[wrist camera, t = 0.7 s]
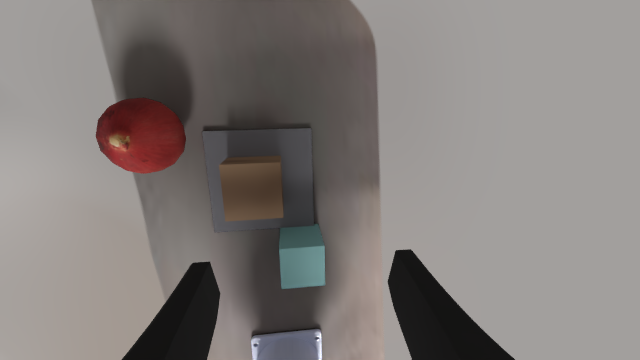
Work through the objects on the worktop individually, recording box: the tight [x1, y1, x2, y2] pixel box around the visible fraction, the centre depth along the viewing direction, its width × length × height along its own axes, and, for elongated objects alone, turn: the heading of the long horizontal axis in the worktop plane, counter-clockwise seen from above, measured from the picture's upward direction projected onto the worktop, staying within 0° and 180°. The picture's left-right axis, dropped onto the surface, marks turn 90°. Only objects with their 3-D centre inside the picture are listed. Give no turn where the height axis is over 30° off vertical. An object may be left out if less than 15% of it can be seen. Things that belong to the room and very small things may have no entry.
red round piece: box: [96, 98, 186, 173], centre depth 22 cm, size 6×6×8 cm
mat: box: [202, 128, 314, 232], centre depth 28 cm, size 10×10×1 cm
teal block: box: [279, 224, 325, 289], centre depth 28 cm, size 4×4×5 cm
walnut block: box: [219, 156, 284, 221], centre depth 26 cm, size 5×5×4 cm
